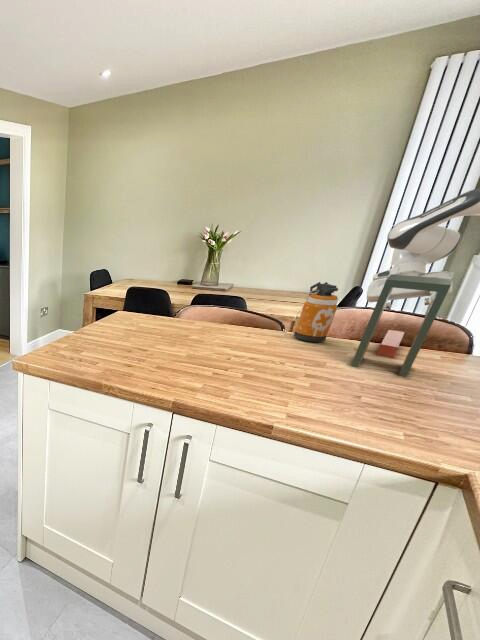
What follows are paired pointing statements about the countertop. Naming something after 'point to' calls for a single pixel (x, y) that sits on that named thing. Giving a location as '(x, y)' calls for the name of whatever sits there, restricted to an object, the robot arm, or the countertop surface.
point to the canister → (317, 313)
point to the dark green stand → (427, 285)
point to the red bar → (390, 343)
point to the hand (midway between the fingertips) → (406, 305)
